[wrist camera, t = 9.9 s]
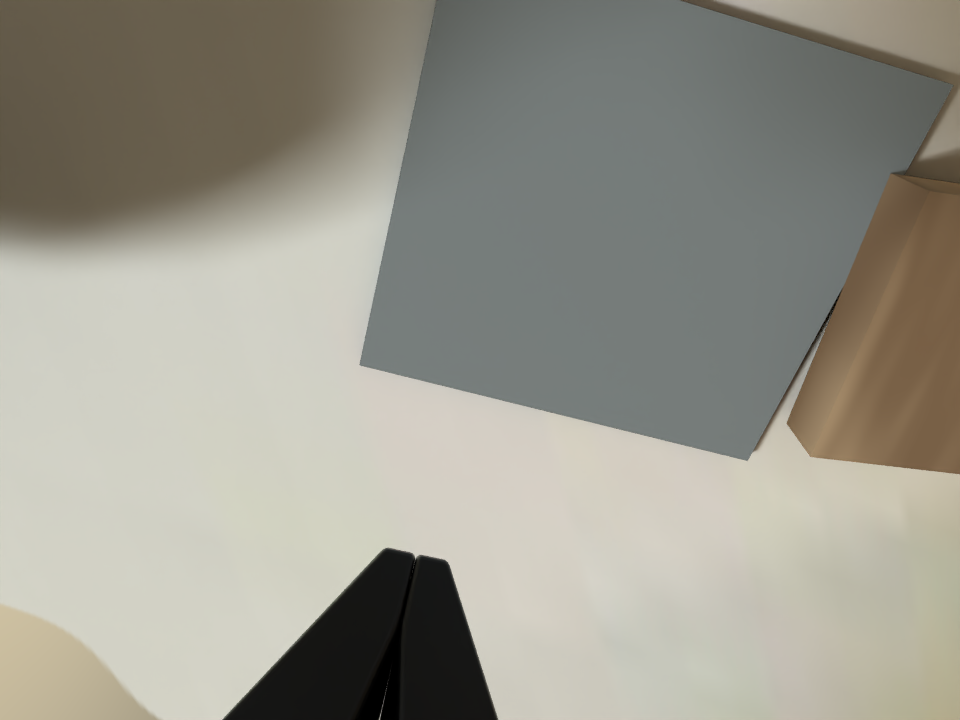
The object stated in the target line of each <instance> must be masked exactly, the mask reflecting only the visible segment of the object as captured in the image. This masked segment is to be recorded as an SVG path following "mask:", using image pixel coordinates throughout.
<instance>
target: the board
mask: <svg viewBox="0 0 960 720" xmlns="http://www.w3.org/2000/svg"><path fill="white" fill-rule="evenodd" d="M787 425H788V426H789V427H790V429H791V430H792V432H793V433H794V434H795V436H796V437H797V439H798V440H799V441H800V443H801V444H802V446H803V447H804V448H805V450H806V451H807V453H808V454H809V456H810V457H816V458H825V459H834V460H842V461H851V462H860V463H868V464H877V465H886V466H894V467H903V468H911V469H920V470H929V471H937V472H946V473H955V474H960V184H959V183H952V182H945V181H939V180H932V179H925V178H918V177H912V176H905V175H898V174H892V173H891V174H890V176H889V179H888V181H887V184H886V186H885V188H884V191H883V193H882V196H881V198H880V200H879V203H878V205H877V208H876V210H875V212H874V215H873V217H872V220H871V222H870V224H869V227H868V229H867V232H866V234H865V236H864V239H863V241H862V244H861V246H860V248H859V251H858V253H857V255H856V258H855V260H854V263H853V265H852V267H851V270H850V272H849V275H848V277H847V279H846V282H845V284H844V287H843V289H842V291H841V294H840V296H839V299H838V301H837V303H836V306H835V308H834V311H833V313H832V315H831V318H830V320H829V323H828V325H827V327H826V330H825V332H824V335H823V337H822V339H821V342H820V344H819V347H818V349H817V351H816V354H815V356H814V359H813V361H812V363H811V366H810V368H809V371H808V373H807V375H806V378H805V380H804V383H803V385H802V387H801V390H800V392H799V395H798V397H797V399H796V402H795V404H794V407H793V409H792V411H791V414H790V416H789V419H788V421H787Z"/></svg>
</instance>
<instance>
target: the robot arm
mask: <svg viewBox="0 0 960 720" xmlns="http://www.w3.org/2000/svg"><path fill="white" fill-rule="evenodd" d="M414 562H415V563H414ZM413 567H414V568H413ZM412 571H413V572H412ZM387 683H388V684H387ZM386 688H387V689H386ZM385 692H386V693H385ZM384 697H385V698H384ZM383 701H384V703H383ZM382 705H383V707H382ZM381 710H382V712H381ZM380 714H381V717H380ZM379 718H380V720H498V718H497V714H496V711H495V708H494V705H493V702H492V698H491V695H490V692H489V689H488V686H487V683H486V679H485V676H484V673H483V670H482V667H481V664H480V660H479V657H478V654H477V651H476V648H475V645H474V641H473V638H472V635H471V632H470V629H469V626H468V622H467V619H466V616H465V613H464V610H463V607H462V603H461V600H460V597H459V594H458V591H457V588H456V584H455V581H454V578H453V575H452V572H451V569H450V566H449V564H448V562H447V561H446V560H443V559H438V558H434V557H429V556H424V555H419V556H418V557H417V558H416V560H415V556H414V554H413V553H410V552H406V551H401V550H396V549H392V548H385V549H383V550H382V551H381V552H380V553H379V554H378V555H377V556H376V557H375V558H374V559H373V560H372V561H371V562H370V563H369V564H368V566H367V567H366V568H365V569H364V570H363V571H362V572H361V573H360V574H359V575H358V576H357V577H356V578H355V579H354V580H353V581H352V583H351V584H350V585H349V586H348V587H347V588H346V589H345V590H344V591H343V592H342V593H341V594H340V595H339V596H338V597H337V598H336V599H335V601H334V602H333V603H332V604H331V605H330V606H329V607H328V608H327V609H326V610H325V611H324V612H323V613H322V614H321V615H320V616H319V618H318V619H317V620H316V621H315V622H314V623H313V624H312V625H311V626H310V627H309V628H308V629H307V630H306V631H305V632H304V633H303V634H302V636H301V637H300V638H299V639H298V640H297V641H296V642H295V643H294V644H293V645H292V646H291V647H290V648H289V649H288V650H287V651H286V653H285V654H284V655H283V656H282V657H281V658H280V659H279V660H278V661H277V662H276V663H275V664H274V665H273V666H272V667H271V668H270V670H269V671H268V672H267V673H266V674H265V675H264V676H263V677H262V678H261V679H260V680H259V681H258V682H257V683H256V684H255V685H254V686H253V688H252V689H251V690H250V691H249V692H248V693H247V694H246V695H245V696H244V697H243V698H242V699H241V700H240V701H239V702H238V703H237V705H236V706H235V707H234V708H233V709H232V710H231V711H230V712H229V713H228V714H227V715H226V716H225V717H224V718H223V719H222V720H379Z"/></svg>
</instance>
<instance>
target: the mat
mask: <svg viewBox="0 0 960 720" xmlns="http://www.w3.org/2000/svg"><path fill="white" fill-rule="evenodd" d="M952 87H953V85H952V84H949V83H946V82H943V81H939V80H936V79H933V78H930V77H926V76H923V75H920V74H917V73H913V72H910V71H907V70H904V69H901V68H897V67H894V66H891V65H888V64H884V63H881V62H878V61H875V60H871V59H868V58H865V57H862V56H858V55H855V54H852V53H849V52H845V51H842V50H839V49H836V48H833V47H829V46H826V45H823V44H820V43H816V42H813V41H810V40H807V39H803V38H800V37H797V36H794V35H790V34H787V33H784V32H781V31H777V30H774V29H771V28H768V27H765V26H761V25H758V24H755V23H752V22H748V21H745V20H742V19H739V18H735V17H732V16H729V15H726V14H722V13H719V12H716V11H713V10H710V9H706V8H703V7H700V6H697V5H693V4H690V3H687V2H684V1H680V0H437V2H436V7H435V11H434V16H433V21H432V25H431V30H430V35H429V40H428V44H427V49H426V54H425V58H424V63H423V68H422V73H421V77H420V82H419V87H418V92H417V96H416V101H415V106H414V110H413V115H412V120H411V125H410V129H409V134H408V139H407V143H406V148H405V153H404V158H403V162H402V167H401V172H400V176H399V181H398V186H397V191H396V195H395V200H394V205H393V209H392V214H391V219H390V224H389V228H388V233H387V238H386V242H385V247H384V252H383V257H382V261H381V266H380V271H379V276H378V280H377V285H376V290H375V294H374V299H373V304H372V309H371V313H370V318H369V323H368V327H367V332H366V337H365V342H364V346H363V351H362V356H361V360H360V365H361V366H365V367H369V368H373V369H377V370H381V371H385V372H389V373H393V374H397V375H401V376H405V377H409V378H413V379H418V380H422V381H426V382H430V383H434V384H438V385H442V386H446V387H450V388H454V389H458V390H462V391H466V392H470V393H474V394H478V395H482V396H486V397H491V398H495V399H499V400H503V401H507V402H511V403H515V404H519V405H523V406H527V407H531V408H535V409H539V410H543V411H547V412H551V413H555V414H559V415H564V416H568V417H572V418H576V419H580V420H584V421H588V422H592V423H596V424H600V425H604V426H608V427H612V428H616V429H620V430H624V431H628V432H632V433H637V434H641V435H645V436H649V437H653V438H657V439H661V440H665V441H669V442H673V443H677V444H681V445H685V446H689V447H693V448H697V449H701V450H706V451H710V452H714V453H718V454H722V455H726V456H730V457H734V458H738V459H742V460H746V461H748V459H749V457H750V456H751V454H752V452H753V450H754V448H755V446H756V445H757V443H758V441H759V439H760V437H761V435H762V434H763V432H764V430H765V428H766V426H767V425H768V423H769V421H770V419H771V417H772V415H773V414H774V412H775V410H776V408H777V406H778V404H779V403H780V401H781V399H782V397H783V395H784V394H785V392H786V390H787V388H788V386H789V384H790V383H791V381H792V379H793V377H794V375H795V373H796V372H797V370H798V368H799V366H800V364H801V363H802V361H803V359H804V357H805V355H806V353H807V352H808V350H809V348H810V346H811V344H812V343H813V341H814V339H815V337H816V335H817V333H818V332H819V330H820V328H821V326H822V324H823V322H824V321H825V319H826V317H827V315H828V313H829V312H830V310H831V308H832V306H833V304H834V302H835V301H836V299H837V297H838V295H839V293H840V291H841V290H842V288H843V286H844V284H845V282H846V279H847V277H848V275H849V272H850V270H851V267H852V265H853V263H854V260H855V258H856V255H857V253H858V251H859V248H860V246H861V244H862V241H863V239H864V236H865V234H866V232H867V229H868V227H869V224H870V222H871V220H872V217H873V215H874V212H875V210H876V208H877V205H878V203H879V200H880V198H881V196H882V193H883V191H884V188H885V186H886V184H887V181H888V179H889V176H890V174H891V173H892V174H898V175H905V173H906V171H907V169H908V167H909V166H910V164H911V162H912V160H913V158H914V157H915V155H916V153H917V151H918V149H919V147H920V146H921V144H922V142H923V140H924V138H925V136H926V135H927V133H928V131H929V129H930V127H931V126H932V124H933V122H934V120H935V118H936V116H937V115H938V113H939V111H940V109H941V107H942V106H943V104H944V102H945V100H946V98H947V96H948V95H949V93H950V91H951V89H952Z"/></svg>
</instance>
